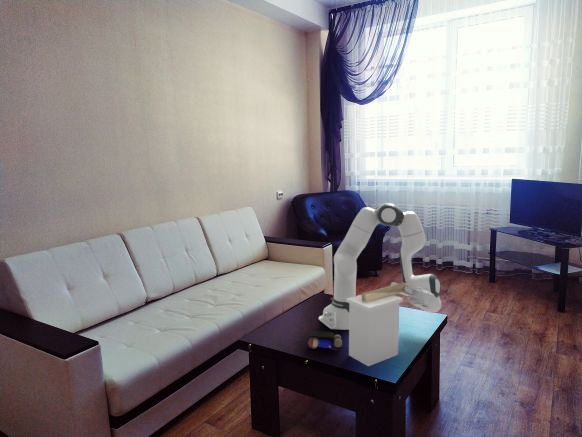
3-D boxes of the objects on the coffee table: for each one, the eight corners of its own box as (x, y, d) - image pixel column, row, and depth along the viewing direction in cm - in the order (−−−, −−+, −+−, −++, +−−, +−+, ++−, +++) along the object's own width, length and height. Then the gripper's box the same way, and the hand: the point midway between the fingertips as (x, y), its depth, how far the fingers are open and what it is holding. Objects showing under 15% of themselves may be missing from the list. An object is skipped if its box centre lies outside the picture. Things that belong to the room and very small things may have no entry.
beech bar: (361, 300, 180) (361, 293, 179) (403, 288, 194) (403, 282, 193) (366, 302, 177) (366, 295, 177) (408, 290, 191) (408, 283, 191)
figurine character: (340, 347, 196) (307, 343, 197) (342, 332, 195) (309, 328, 196) (340, 354, 189) (307, 350, 190) (342, 338, 188) (309, 334, 189)
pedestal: (345, 355, 186) (346, 298, 182) (378, 343, 197) (379, 289, 193) (368, 368, 174) (369, 307, 170) (401, 354, 185) (402, 298, 181)
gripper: (402, 284, 207) (385, 275, 199) (437, 295, 190) (420, 285, 182) (397, 296, 206) (380, 287, 198) (432, 308, 189) (415, 299, 182)
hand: (400, 286), depth 190 cm, fingers closed on beech bar, 3 cm apart
